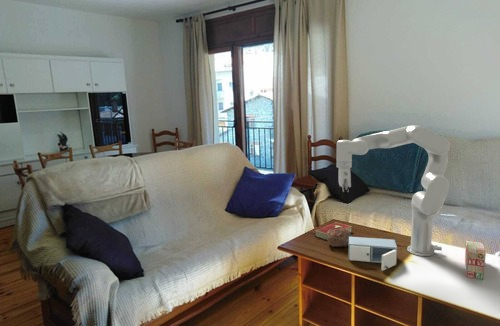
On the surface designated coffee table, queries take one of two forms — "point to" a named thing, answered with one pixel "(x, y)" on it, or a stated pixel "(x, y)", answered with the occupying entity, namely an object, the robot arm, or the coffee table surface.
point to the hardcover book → (324, 230)
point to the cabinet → (369, 248)
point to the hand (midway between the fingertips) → (343, 196)
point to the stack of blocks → (475, 260)
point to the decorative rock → (338, 237)
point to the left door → (389, 259)
